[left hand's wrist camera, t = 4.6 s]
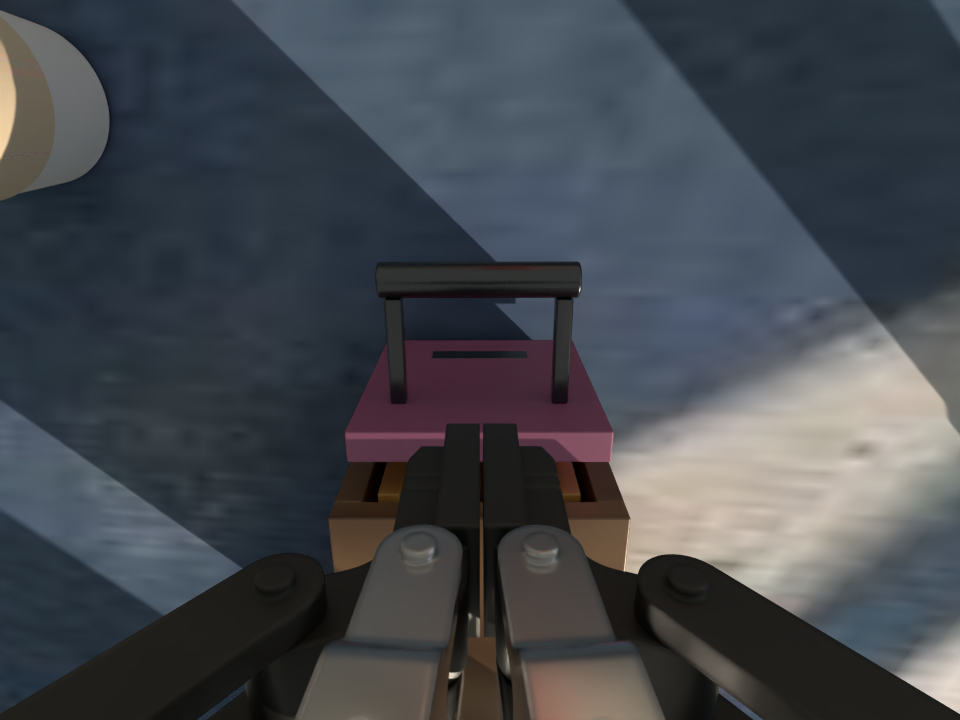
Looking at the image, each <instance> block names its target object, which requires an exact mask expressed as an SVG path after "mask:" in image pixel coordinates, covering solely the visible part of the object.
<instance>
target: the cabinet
mask: <svg viewBox="0 0 960 720" xmlns="http://www.w3.org/2000/svg"><path fill="white" fill-rule="evenodd" d="M386 465H387V462H351V463H350V465H349V468H348V470H347V473H346V475H345V477H344V480H343V482H342V485H341V487H340V490H339V492H338V495H337V497H336V500H335V503H334V505H333V508H332V510H331V513H330V515H329V517H328V524H329V533H330V542H331V550H332V559H333V568H334V573H336V572H340V571H344V570H348V569H352V568H355V567H358V566H361V565H363V564H365V563H367V562H369V561H371V560H373V557H374V555H375V552H376V549H377V547H378V545H379V544H380V542H381V541H382V540H383V539H384V538H385V537H386V536H388V535H389V534H391V533H392V532H393V529H394V525H395V520H396V515H397V511H398V506H399V502H378V492H379V489H380V485H381V482H382V479H383V475H384V472H385V468H386ZM572 465H573V469H574V472H575V476H576V480H577V483H578V487H579V490H580V494H581V498H580V502H564V504H565V508H566V513H567V517H568V522H569V526H570V530H571V535H572V536H574V537H575V538H576V539H577V540H578V541H579V542H580V544H581V545H582V547H583V549H584V552H585V555H586V556H587V557H589V558H590V559H592V560H593V561H595V562H597V563H599V564H602V565H604V566H607V567H610V568H613V569H617V570H621V571H625V566H626V557H627V547H628V538H629V529H630V516H629V514H628V511H627V509H626V506H625V503H624V501H623V498H622V495H621V493H620V490H619V488H618V485H617V483H616V480H615V478H614V475H613V472H612V470H611V467H610V465H609V462H572ZM460 720H500V713H499V704H498V695H497V686H496V637H484V603H483V502H480V638H468V658H467V663H466V666H465V668H464V686H463V695H462V704H461V713H460Z"/></svg>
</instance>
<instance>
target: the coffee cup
mask: <svg viewBox="0 0 960 720" xmlns="http://www.w3.org/2000/svg"><path fill="white" fill-rule="evenodd" d="M108 134H109V110H108V104H107V100H106V96H105V93H104V90H103V88H102V85H101V83H100V81H99V79H98V77H97V75H96V73H95V72H94V70H93V68H92V67H91V65H90V64H89V63H88V61H87V60H86V59H85V57H84V56H83V55H82V54H81V53H80V52H79V51H78V50H77V49H76V48H75V47H74V46H73V45H72V44H71V43H70V42H68V41H67V40H66V39H64V38H63V37H62V36H60V35H59V34H57V33H55V32H54V31H52V30H50V29H48V28H46V27H44V26H41V25H39V24H36V23H33V22H30V21H28V20H25V19H22V18H20V17H17V16H14V15H12V14H9V13H6V12H3V11H1V10H0V201H2V200H5V199H8V198H10V197H13V196H15V195H17V194H19V193H23V192H28V191H32V190H36V189H41V188H45V187H49V186H53V185H58V184H62V183H66V182H69V181H72V180H75V179H77V178H79V177H81V176H82V175H84V174H85V173H87V172H88V171H89V170H90V169H91V168H92V167H93V166H94V165H95V164H96V163H97V161H98V160H99V158H100V157H101V155H102V153H103V151H104V149H105V146H106V143H107V139H108Z"/></svg>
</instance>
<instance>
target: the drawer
mask: <svg viewBox="0 0 960 720" xmlns="http://www.w3.org/2000/svg"><path fill="white" fill-rule="evenodd" d="M375 281H376V291H377V294H378V297H380V298H385V300H384V307H385V322H386V338H387V343H386V345H385V347H384V349H383V352H382V354H381V356H380V358H379V360H378V362H377V364H376V367H375V369H374V371H373V373H372V375H371V377H370V379H369V381H368V384H367V386H366V388H365V390H364V392H363V394H362V396H361V399H360V401H359V403H358V405H357V407H356V409H355V411H354V413H353V416H352V418H351V420H350V422H349V424H348V426H347V428H346V431H345V442H346V453H347V461H348V462H387V465H386V468H385V472H384V475H383V479H382V482H381V485H380V489H379V492H378V502H400V497H401V493H402V490H403V484H404V479H405V477H406V470H407V465H408V461H409V458H410V457H411V456H412V455H413V454H414V453H415V452H416V451H417V450H418V449H419V448H420V447H421V446H444V441H445V432H446V424H447V423H480V502H483V423H516V424H517V432H518V440H519V446H542V447H543V448H544V449H545V450H546V451H547V452H548V453H549V454H550V455H551V456H552V457H553V458H554V460H555V465H556V469H557V474H558V478H559V482H560V489H561V491H562V495H563V500H564V502H580V498H581V494H580V490H579V487H578V483H577V480H576V476H575V472H574V469H573V465H572V462H610V461H611V454H612V443H613V430H612V428H611V426H610V423H609V421H608V419H607V417H606V415H605V412H604V410H603V408H602V406H601V403H600V401H599V399H598V397H597V394H596V392H595V390H594V388H593V386H592V383H591V381H590V379H589V377H588V374H587V372H586V370H585V368H584V366H583V363H582V361H581V359H580V357H579V354H578V352H577V350H576V348H575V345H574V343H573V341H572V340H571V336H572V318H573V299H572V298H577V297H579V295H580V292H581V286H582V270H581V265H580V263H579V262H379V263H378V264H377V267H376V275H375ZM403 298H555V308H554V331H553V340H405V331H404V312H403Z"/></svg>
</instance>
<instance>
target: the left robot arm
mask: <svg viewBox="0 0 960 720" xmlns="http://www.w3.org/2000/svg"><path fill="white" fill-rule="evenodd" d="M483 603H484V637H496V686H497V695H498V704H499V713H500V720H753V719H751V718H750V717H749V716H748V715H746V714H745V713H744V712H742V711H741V710H740V709H738V708H737V707H736V706H735V705H733V704H732V703H731V702H729V701H728V700H727V699H725V698H724V697H723V696H722V695H720V694H719V693H718V692H719V687H721V688H722V689H724V690H725V691H726V692H728V693H729V694H730V695H732V696H733V697H734V698H736V699H737V700H738V701H740V702H741V703H742V704H743V705H745V706H746V707H747V708H749V709H750V710H751V711H753V712H754V713H755V714H757V715H758V716H759V717H761V718H762V719H763V720H960V714H959V713H957V712H955V711H954V710H952V709H950V708H949V707H947V706H945V705H944V704H942V703H940V702H939V701H937V700H935V699H934V698H932V697H930V696H929V695H927V694H925V693H924V692H922V691H920V690H919V689H917V688H915V687H914V686H912V685H910V684H909V683H907V682H905V681H904V680H902V679H900V678H899V677H897V676H895V675H894V674H892V673H890V672H889V671H887V670H885V669H884V668H882V667H880V666H879V665H877V664H875V663H874V662H872V661H870V660H869V659H867V658H865V657H864V656H862V655H860V654H859V653H857V652H855V651H854V650H852V649H850V648H849V647H847V646H845V645H844V644H842V643H840V642H838V641H837V640H835V639H833V638H832V637H830V636H828V635H827V634H825V633H823V632H822V631H820V630H818V629H817V628H815V627H813V626H812V625H810V624H808V623H807V622H805V621H803V620H802V619H800V618H798V617H797V616H795V615H793V614H792V613H790V612H788V611H787V610H785V609H783V608H782V607H780V606H778V605H777V604H775V603H773V602H772V601H770V600H768V599H767V598H765V597H763V596H762V595H760V594H758V593H757V592H755V591H753V590H752V589H750V588H748V587H747V586H745V585H743V584H742V583H740V582H738V581H737V580H735V579H733V578H732V577H730V576H728V575H727V574H725V573H723V572H722V571H720V570H718V569H717V568H715V567H713V566H712V565H710V564H708V563H706V562H704V561H701V560H699V559H696V558H693V557H689V556H684V555H675V554H668V555H660V556H656V557H653V558H651V559H649V560H648V561H646V562H645V563H644V564H643V565H642V566H641V568H640V570H639V572H638V574H634V573H630V572H625V571H621V570H617V569H613V568H610V567H607V566H604V565H602V564H599V563H597V562H595V561H593V560H592V559H590V558H589V557H587V556H586V555H585V552H584V549H583V547H582V545H581V544H580V542H579V541H578V540H577V539H576V538H575V537H574V536H572V535H571V530H570V526H569V522H568V517H567V513H566V508H565V504H564V500H563V495H562V491H561V489H560V482H559V478H558V474H557V469H556V465H555V460H554V458H553V457H552V456H551V455H550V454H549V453H548V452H547V451H546V450H545V449H544V448H543V447H542V446H519V440H518V432H517V424H516V423H483ZM468 638H480V423H447V424H446V432H445V441H444V446H421V447H420V448H419V449H418V450H417V451H416V452H415V453H414V454H413V455H412V456H411V457H410V458H409V461H408V465H407V470H406V477H405V479H404V484H403V490H402V493H401V497H400V502H399V506H398V511H397V515H396V520H395V525H394V529H393V532H392V533H391V534H389V535H388V536H386V537H385V538H384V539H383V540H382V541H381V542H380V544H379V545H378V547H377V549H376V552H375V555H374V557H373V560H371V561H369V562H367V563H365V564H363V565H361V566H358V567H355V568H352V569H348V570H344V571H340V572H336V573H331V574H327V575H324V571H323V568H322V566H321V565H320V564H319V562H317V561H316V560H315V559H313V558H311V557H310V556H306V555H303V554H298V553H283V554H277V555H272V556H269V557H265V558H263V559H260V560H258V561H256V562H254V563H252V564H250V565H248V566H247V567H245V568H243V569H242V570H240V571H238V572H237V573H235V574H233V575H232V576H230V577H228V578H227V579H225V580H223V581H222V582H220V583H218V584H217V585H215V586H213V587H212V588H210V589H208V590H207V591H205V592H203V593H202V594H200V595H198V596H197V597H195V598H193V599H192V600H190V601H188V602H187V603H185V604H183V605H182V606H180V607H178V608H177V609H175V610H173V611H172V612H170V613H168V614H167V615H165V616H163V617H162V618H160V619H158V620H157V621H155V622H153V623H152V624H150V625H148V626H147V627H145V628H143V629H142V630H140V631H138V632H137V633H135V634H133V635H132V636H130V637H128V638H127V639H125V640H123V641H122V642H120V643H118V644H117V645H115V646H113V647H112V648H110V649H108V650H106V651H105V652H103V653H101V654H100V655H98V656H96V657H95V658H93V659H91V660H90V661H88V662H86V663H85V664H83V665H81V666H80V667H78V668H76V669H75V670H73V671H71V672H70V673H68V674H66V675H65V676H63V677H61V678H60V679H58V680H56V681H55V682H53V683H51V684H50V685H48V686H46V687H45V688H43V689H41V690H40V691H38V692H36V693H35V694H33V695H31V696H30V697H28V698H26V699H25V700H23V701H21V702H20V703H18V704H16V705H15V706H13V707H11V708H10V709H8V710H6V711H5V712H3V713H1V714H0V720H197V719H198V718H199V717H201V716H202V715H203V714H205V713H206V712H207V711H209V710H210V709H211V708H213V707H214V706H215V705H217V704H218V703H219V702H220V701H222V700H223V699H224V698H226V697H227V696H228V695H230V694H231V693H232V692H234V691H235V690H236V689H238V688H239V687H240V686H242V685H243V684H244V685H245V691H244V692H242V693H241V694H240V695H238V696H237V697H236V698H235V699H233V700H232V701H231V702H229V703H228V704H227V705H225V706H224V707H223V708H222V709H220V710H219V711H218V712H216V713H215V714H214V715H212V716H211V717H210V718H209V719H207V720H460V713H461V704H462V695H463V686H464V668H465V666H466V663H467V658H468Z"/></svg>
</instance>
